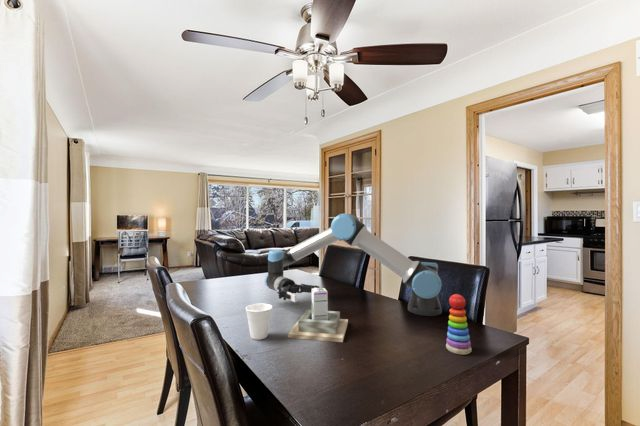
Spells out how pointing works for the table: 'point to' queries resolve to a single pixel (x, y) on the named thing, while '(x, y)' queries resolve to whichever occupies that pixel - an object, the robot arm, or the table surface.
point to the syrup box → (319, 304)
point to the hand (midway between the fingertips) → (309, 296)
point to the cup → (259, 320)
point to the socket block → (320, 328)
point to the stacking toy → (458, 327)
